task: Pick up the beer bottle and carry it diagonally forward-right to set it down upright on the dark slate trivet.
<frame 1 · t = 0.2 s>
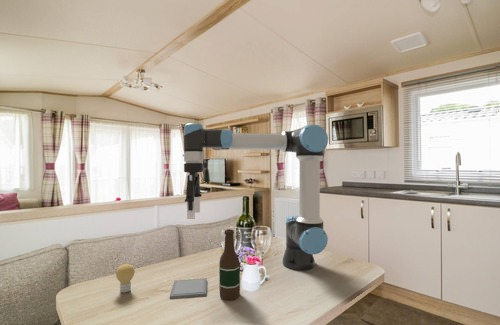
hand: (193, 215, 105), 28 cm above the table, fingers open, 13 cm apart
trivet: (189, 288, 102), on the table
light bulb: (125, 291, 100), on the table
beer bottle: (229, 296, 96), on the table
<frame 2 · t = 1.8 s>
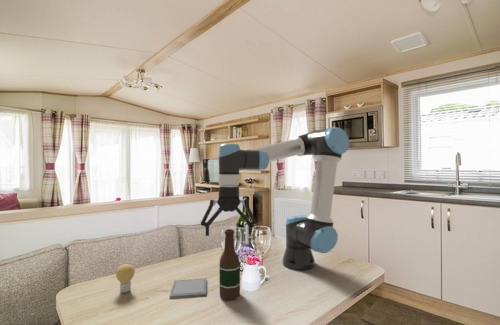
hand: (228, 244, 96), 19 cm above the table, fingers open, 13 cm apart
nothing on the table moved.
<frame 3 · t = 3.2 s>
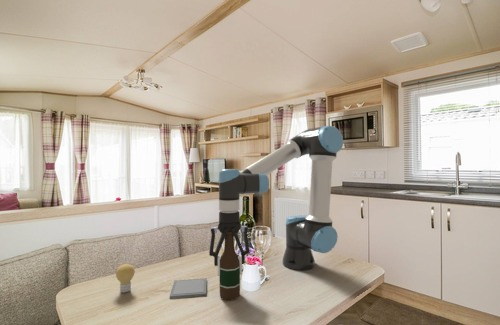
hand: (229, 273, 96), 8 cm above the table, fingers closed on beer bottle, 7 cm apart
beer bottle: (229, 296, 96), on the table, touching gripper
everything else where it was.
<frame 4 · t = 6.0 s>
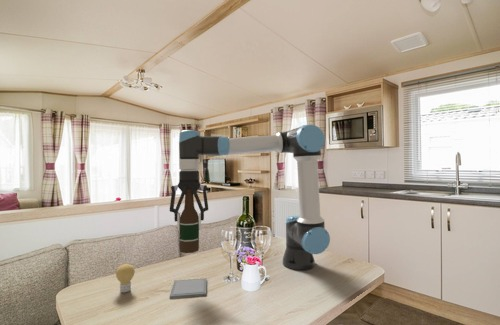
hand: (189, 229, 102), 23 cm above the table, fingers closed on beer bottle, 7 cm apart
beer bottle: (189, 250, 102), point 15 cm above the table, touching gripper
everything else where it was.
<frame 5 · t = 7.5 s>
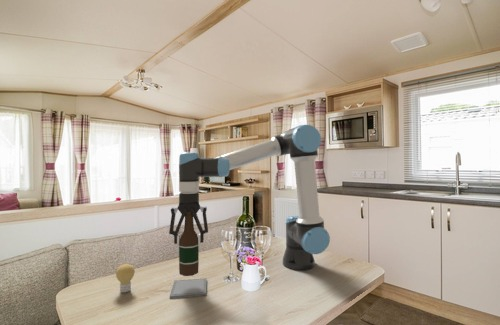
hand: (189, 251, 102), 14 cm above the table, fingers closed on beer bottle, 7 cm apart
beer bottle: (189, 272, 102), point 6 cm above the table, touching gripper
everything else where it was.
when the fingers open (10 cm above the table, at t = 8.9 s): beer bottle stays where it is, resting on trivet.
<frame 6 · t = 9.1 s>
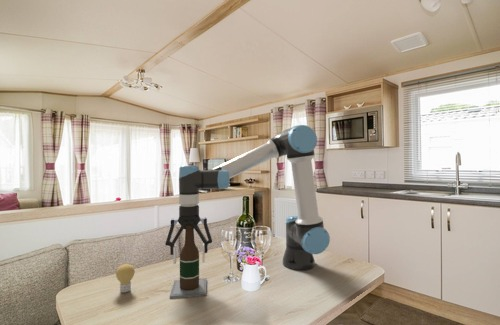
hand: (189, 262, 102), 10 cm above the table, fingers open, 10 cm apart
beer bottle: (189, 286, 102), point 1 cm above the table, touching trivet
everything else where it was.
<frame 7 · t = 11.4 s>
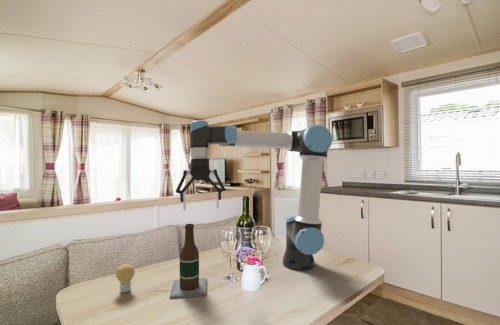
hand: (201, 208, 110), 30 cm above the table, fingers open, 13 cm apart
nothing on the table moved.
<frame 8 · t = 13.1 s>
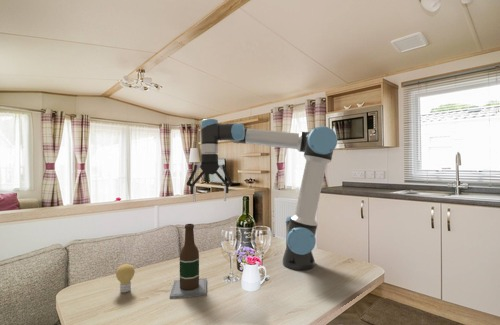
hand: (209, 201, 118), 32 cm above the table, fingers open, 13 cm apart
nothing on the table moved.
at the end: beer bottle inside the target area on the trivet (0.1 cm from its centre), point 0.7 cm above the trivet's base; beer bottle tilted 0°; the gripper is holding nothing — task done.
